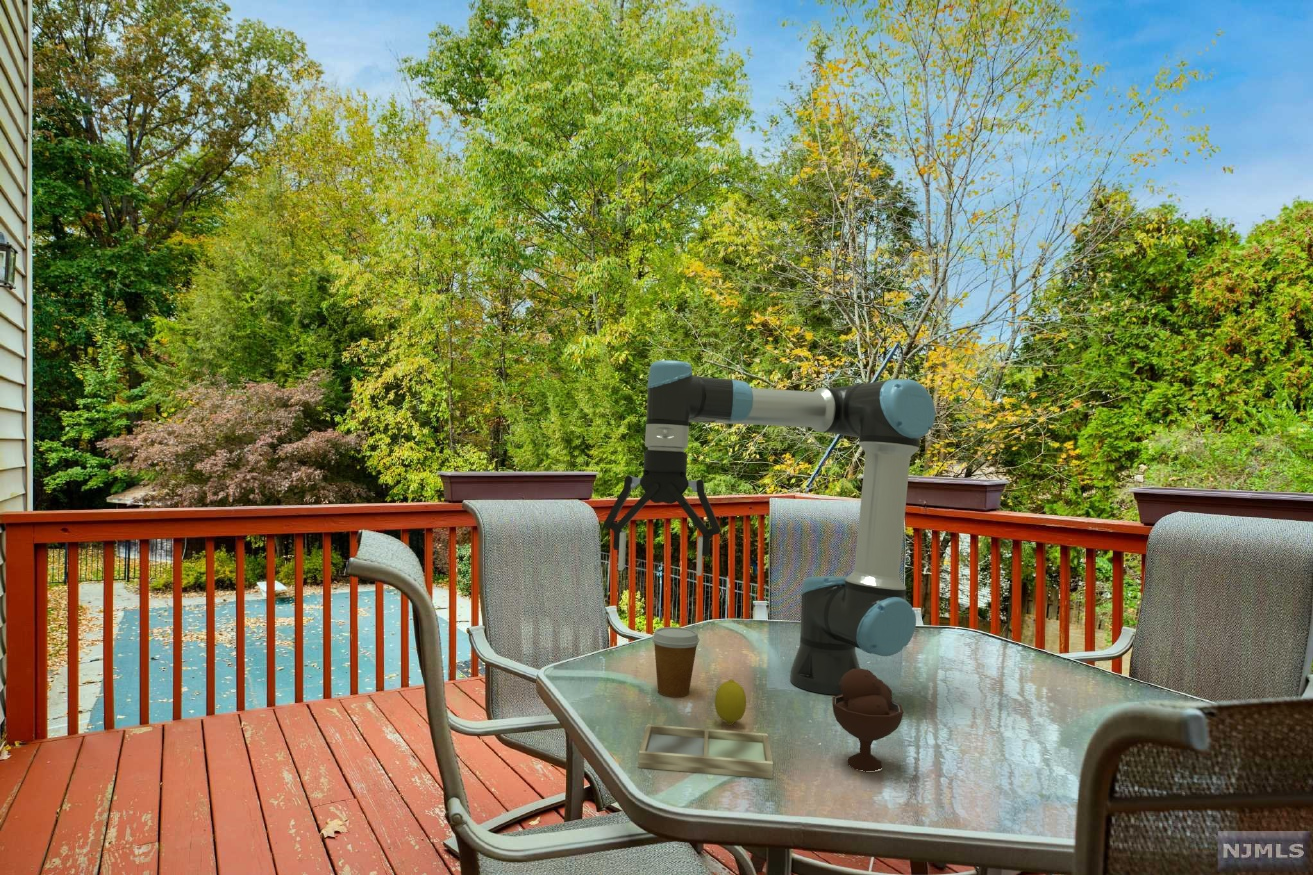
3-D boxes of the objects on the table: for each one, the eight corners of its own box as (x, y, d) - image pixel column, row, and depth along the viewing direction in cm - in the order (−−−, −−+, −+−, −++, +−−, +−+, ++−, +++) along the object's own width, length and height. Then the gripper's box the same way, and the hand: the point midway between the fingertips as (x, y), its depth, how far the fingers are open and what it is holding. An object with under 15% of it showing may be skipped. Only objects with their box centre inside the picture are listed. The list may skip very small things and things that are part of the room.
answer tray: (767, 747, 120) (767, 733, 120) (772, 778, 108) (772, 763, 108) (646, 737, 122) (646, 724, 122) (638, 767, 110) (638, 752, 110)
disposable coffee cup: (693, 702, 141) (696, 639, 141) (645, 696, 143) (648, 635, 143) (700, 687, 150) (702, 629, 151) (654, 682, 152) (657, 624, 153)
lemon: (711, 719, 132) (713, 674, 132) (741, 719, 133) (743, 675, 133) (716, 730, 127) (718, 683, 127) (748, 730, 127) (750, 684, 127)
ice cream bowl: (892, 786, 107) (895, 683, 108) (819, 766, 113) (822, 669, 114) (909, 763, 116) (912, 668, 117) (840, 745, 122) (843, 655, 123)
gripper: (591, 445, 125) (585, 570, 125) (738, 453, 123) (732, 580, 122) (599, 446, 133) (593, 564, 132) (737, 453, 130) (732, 573, 129)
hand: (659, 572), depth 127 cm, fingers open, 13 cm apart
